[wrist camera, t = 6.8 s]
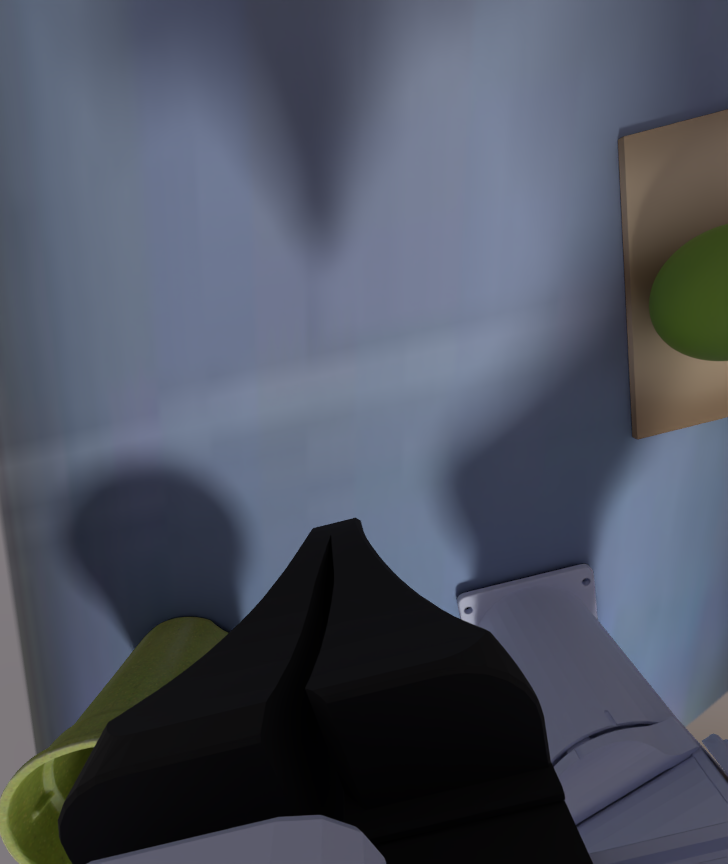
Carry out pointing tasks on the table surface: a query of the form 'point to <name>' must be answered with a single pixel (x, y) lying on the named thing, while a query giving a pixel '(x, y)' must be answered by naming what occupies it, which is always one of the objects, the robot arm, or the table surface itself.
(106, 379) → the table surface
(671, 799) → the robot arm
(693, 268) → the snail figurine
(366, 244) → the table surface
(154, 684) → the plant pot
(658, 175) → the cork mat
